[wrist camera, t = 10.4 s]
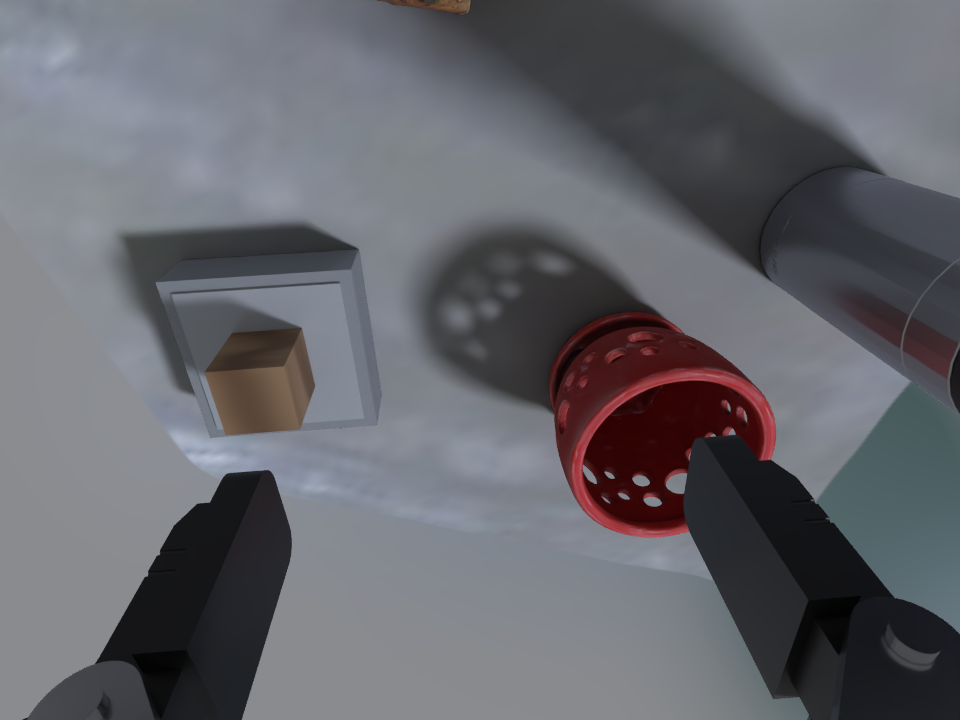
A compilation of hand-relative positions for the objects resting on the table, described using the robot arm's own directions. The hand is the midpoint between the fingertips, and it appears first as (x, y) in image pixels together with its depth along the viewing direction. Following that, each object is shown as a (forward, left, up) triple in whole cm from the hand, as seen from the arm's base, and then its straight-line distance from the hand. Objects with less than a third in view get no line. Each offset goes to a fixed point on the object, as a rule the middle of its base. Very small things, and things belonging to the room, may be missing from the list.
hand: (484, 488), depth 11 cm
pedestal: (+13, +10, -29) cm, 34 cm away
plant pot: (-12, +15, -30) cm, 36 cm away
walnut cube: (+13, +10, -25) cm, 30 cm away
